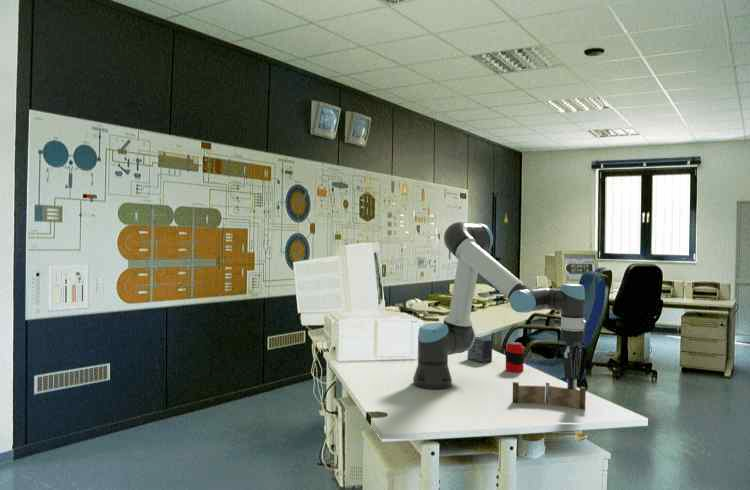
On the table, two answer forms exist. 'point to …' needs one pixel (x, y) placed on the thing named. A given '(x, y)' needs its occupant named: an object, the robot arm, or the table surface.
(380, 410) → the table surface
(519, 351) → the soda can
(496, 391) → the table surface
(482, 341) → the small box
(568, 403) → the fence gate
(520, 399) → the fence fixed
